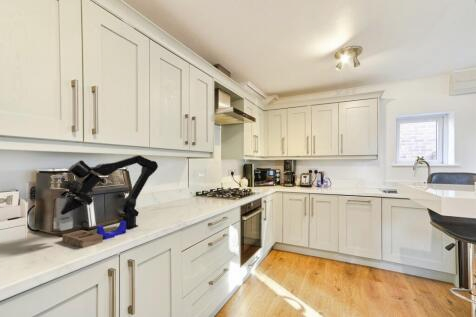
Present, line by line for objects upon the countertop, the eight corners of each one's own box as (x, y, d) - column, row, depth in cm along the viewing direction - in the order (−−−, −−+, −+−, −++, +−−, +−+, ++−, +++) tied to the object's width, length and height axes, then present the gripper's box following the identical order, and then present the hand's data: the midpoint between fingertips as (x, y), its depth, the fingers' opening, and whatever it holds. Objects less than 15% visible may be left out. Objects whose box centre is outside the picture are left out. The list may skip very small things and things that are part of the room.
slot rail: (62, 241, 97) (62, 234, 97) (82, 236, 104) (82, 229, 104) (82, 248, 90) (83, 240, 90) (102, 242, 97) (102, 235, 97)
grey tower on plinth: (53, 228, 95) (53, 198, 95) (64, 225, 98) (64, 196, 98) (62, 230, 91) (62, 199, 92) (72, 228, 95) (72, 198, 95)
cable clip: (100, 241, 98) (100, 227, 99) (96, 239, 101) (96, 225, 101) (127, 234, 108) (127, 221, 108) (122, 232, 111) (123, 220, 111)
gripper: (63, 173, 103) (32, 200, 93) (85, 174, 94) (54, 204, 84) (81, 188, 110) (54, 215, 100) (103, 190, 101) (77, 220, 91)
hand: (59, 213), depth 94 cm, fingers closed on grey tower on plinth, 3 cm apart
